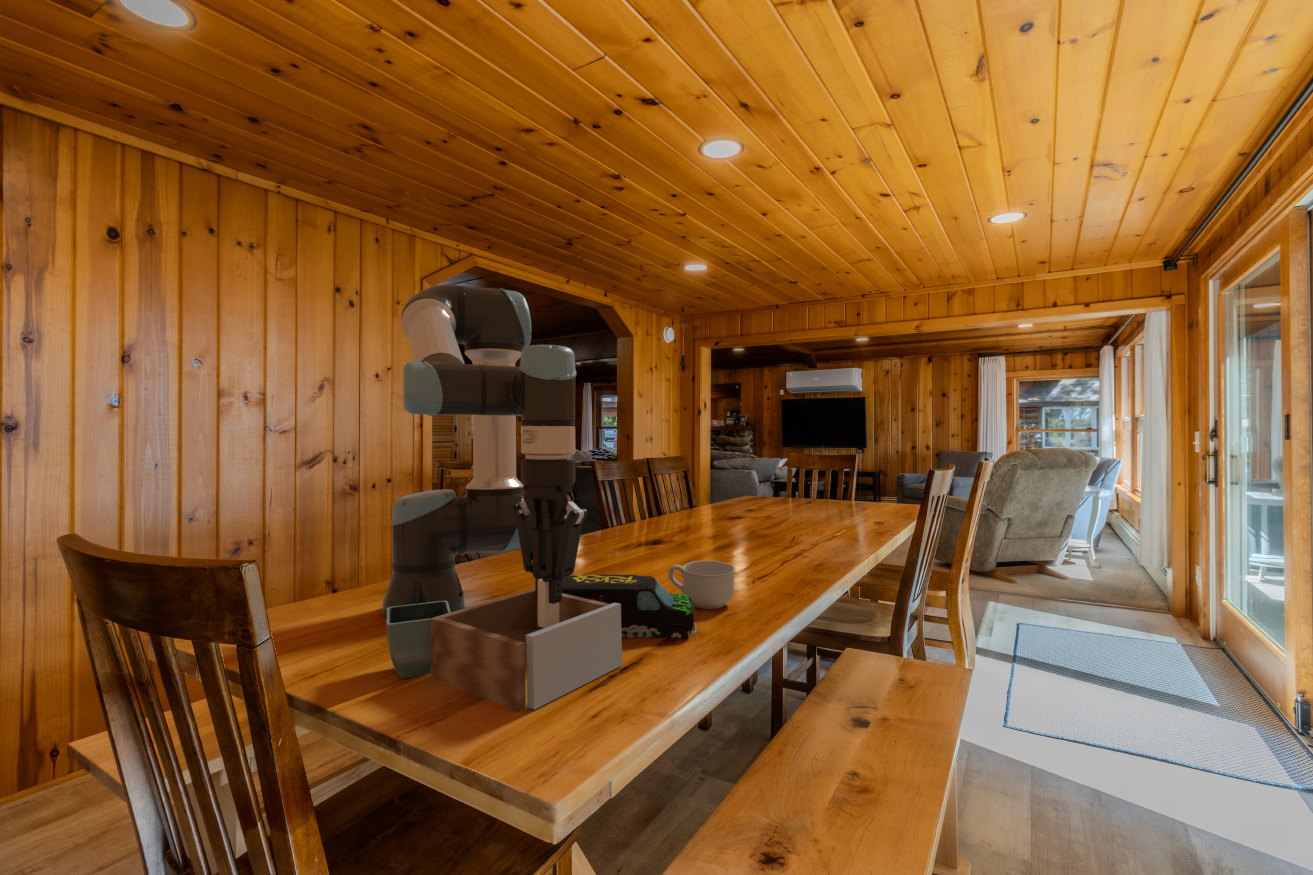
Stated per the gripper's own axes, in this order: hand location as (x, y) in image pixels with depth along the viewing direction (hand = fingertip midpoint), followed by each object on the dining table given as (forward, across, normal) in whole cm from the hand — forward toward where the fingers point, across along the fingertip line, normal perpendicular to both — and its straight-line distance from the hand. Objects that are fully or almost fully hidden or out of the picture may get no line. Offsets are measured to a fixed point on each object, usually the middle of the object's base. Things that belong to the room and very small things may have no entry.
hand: (548, 624), depth 85 cm
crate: (+9, -4, 0) cm, 9 cm away
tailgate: (+7, +5, 0) cm, 9 cm away
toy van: (+9, -4, +22) cm, 24 cm away
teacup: (+9, -3, +46) cm, 47 cm away
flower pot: (+9, -19, -8) cm, 22 cm away
